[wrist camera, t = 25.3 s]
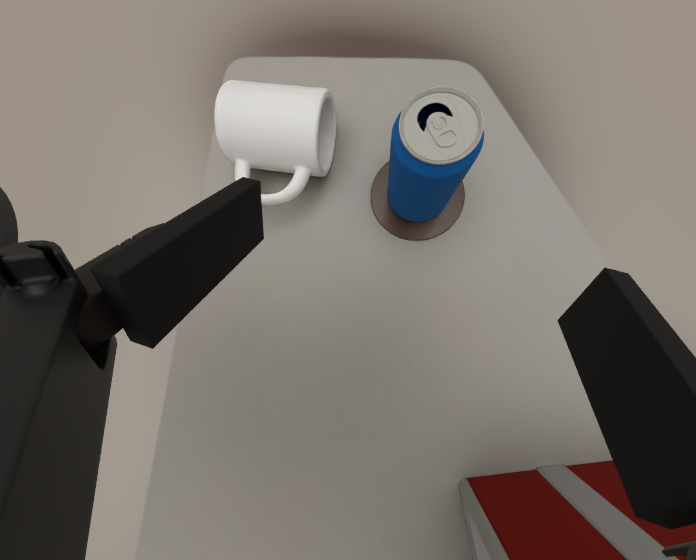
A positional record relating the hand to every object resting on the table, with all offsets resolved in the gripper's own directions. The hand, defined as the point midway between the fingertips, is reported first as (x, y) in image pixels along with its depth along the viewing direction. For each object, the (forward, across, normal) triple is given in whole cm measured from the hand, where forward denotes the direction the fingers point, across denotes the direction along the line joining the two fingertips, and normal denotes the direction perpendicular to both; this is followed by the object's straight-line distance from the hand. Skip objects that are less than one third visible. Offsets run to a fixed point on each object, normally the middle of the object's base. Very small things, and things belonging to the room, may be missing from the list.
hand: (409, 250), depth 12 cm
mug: (+21, -15, -7) cm, 27 cm away
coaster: (+21, 0, -6) cm, 22 cm away
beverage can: (+21, 0, -6) cm, 22 cm away
